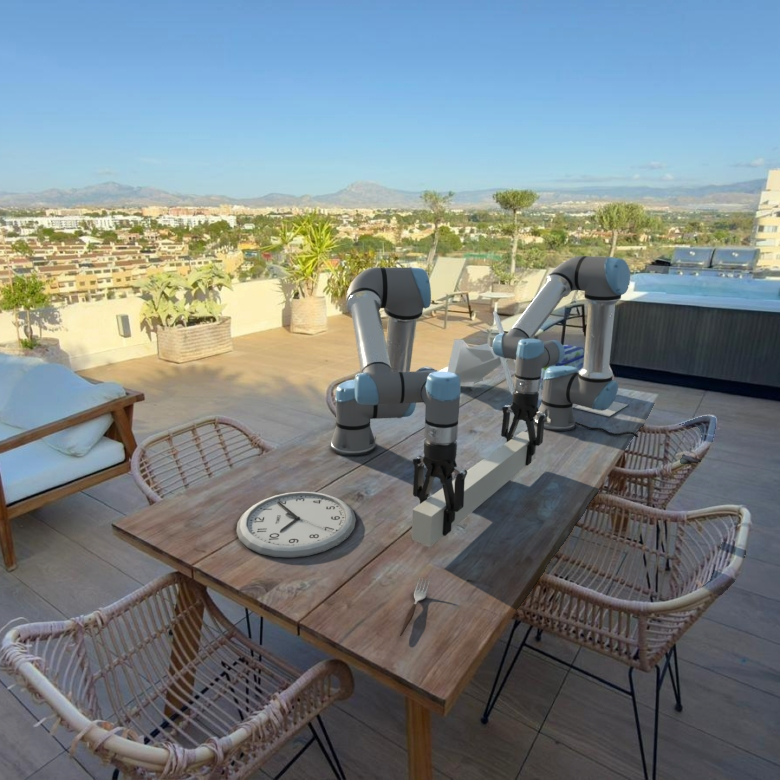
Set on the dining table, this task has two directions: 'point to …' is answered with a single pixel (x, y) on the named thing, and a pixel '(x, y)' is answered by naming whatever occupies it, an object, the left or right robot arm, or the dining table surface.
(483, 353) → the white plastic object
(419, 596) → the fork
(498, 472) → the beam
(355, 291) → the left robot arm
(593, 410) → the invitation card
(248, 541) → the wall clock
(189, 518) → the dining table surface
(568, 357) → the lunch box
